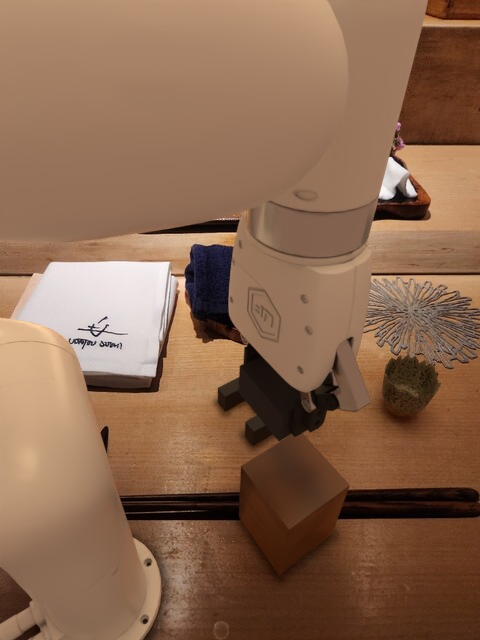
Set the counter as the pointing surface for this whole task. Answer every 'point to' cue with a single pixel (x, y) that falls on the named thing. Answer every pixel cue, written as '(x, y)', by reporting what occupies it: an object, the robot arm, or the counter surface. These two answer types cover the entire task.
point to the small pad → (268, 395)
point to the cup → (408, 385)
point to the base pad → (231, 398)
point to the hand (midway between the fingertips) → (281, 397)
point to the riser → (290, 500)
